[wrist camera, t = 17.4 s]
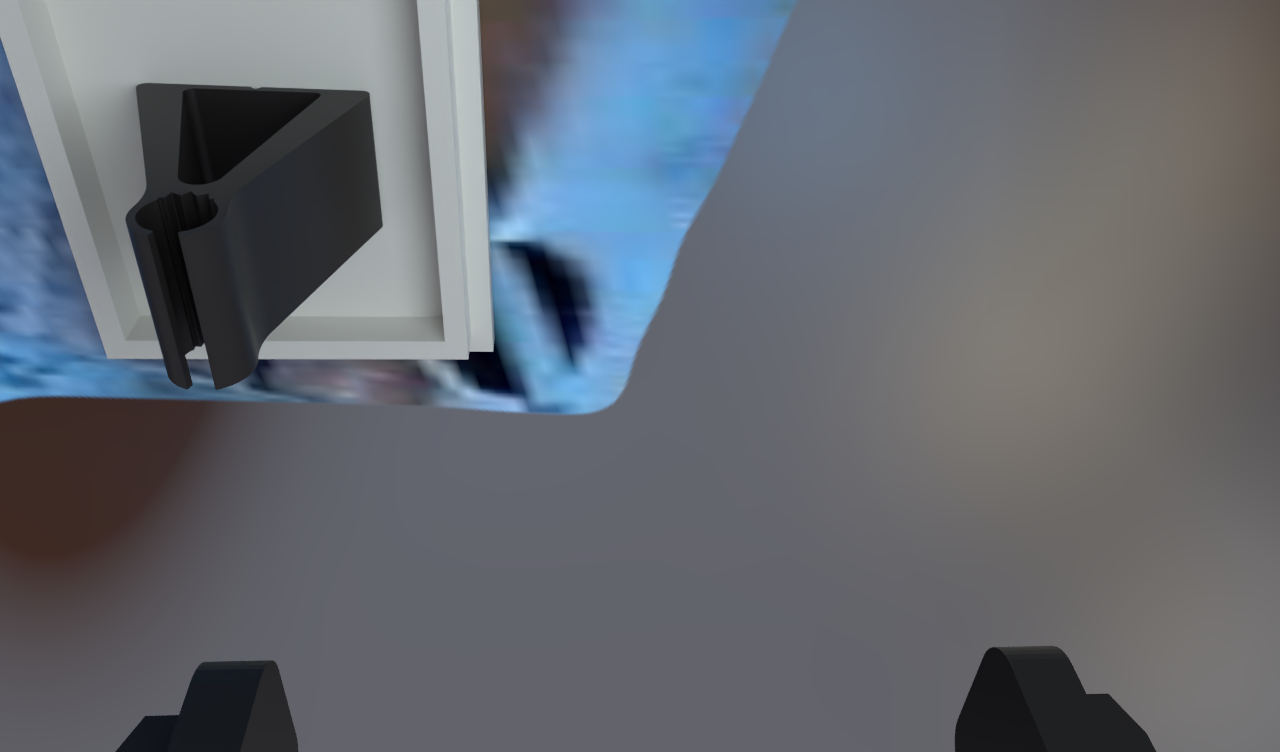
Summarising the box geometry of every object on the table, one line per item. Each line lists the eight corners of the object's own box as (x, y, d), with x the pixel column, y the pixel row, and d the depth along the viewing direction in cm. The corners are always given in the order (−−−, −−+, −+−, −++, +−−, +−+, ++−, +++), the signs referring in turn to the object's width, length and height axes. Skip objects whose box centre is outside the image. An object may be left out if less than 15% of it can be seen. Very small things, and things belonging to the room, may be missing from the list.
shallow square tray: (115, 336, 48) (90, 376, 46) (-33, -121, 36) (-77, -100, 34) (494, 337, 50) (490, 376, 47) (474, -101, 38) (468, -80, 35)
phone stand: (170, 216, 43) (62, 388, 34) (139, 80, 40) (7, 230, 30) (384, 222, 44) (336, 391, 35) (371, 90, 41) (315, 239, 31)
